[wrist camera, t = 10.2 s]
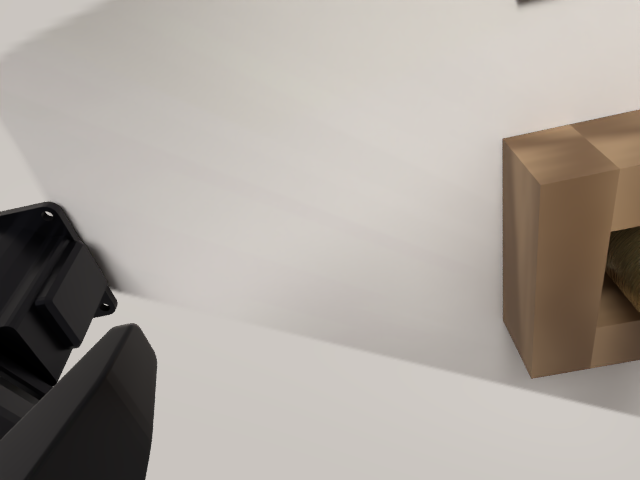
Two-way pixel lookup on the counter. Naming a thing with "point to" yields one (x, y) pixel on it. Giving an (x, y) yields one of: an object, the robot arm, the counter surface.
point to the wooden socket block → (569, 243)
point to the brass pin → (625, 262)
